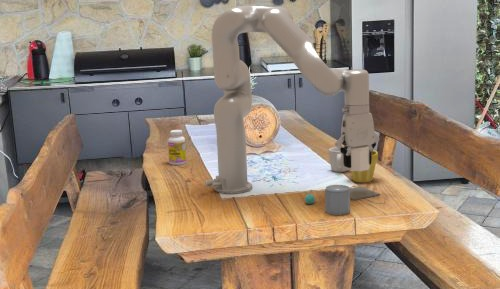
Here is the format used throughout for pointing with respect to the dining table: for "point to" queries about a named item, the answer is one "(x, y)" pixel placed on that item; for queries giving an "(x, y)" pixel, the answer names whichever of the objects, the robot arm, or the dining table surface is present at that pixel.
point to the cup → (336, 160)
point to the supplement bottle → (177, 148)
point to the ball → (309, 198)
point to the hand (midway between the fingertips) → (357, 164)
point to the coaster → (361, 193)
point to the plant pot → (367, 174)
